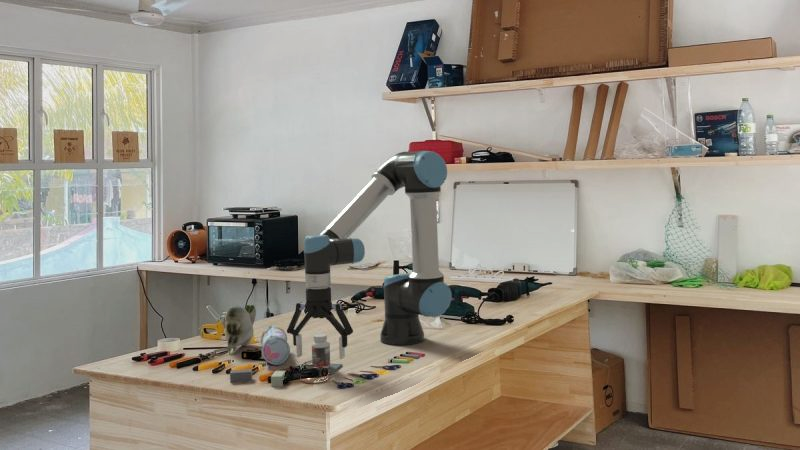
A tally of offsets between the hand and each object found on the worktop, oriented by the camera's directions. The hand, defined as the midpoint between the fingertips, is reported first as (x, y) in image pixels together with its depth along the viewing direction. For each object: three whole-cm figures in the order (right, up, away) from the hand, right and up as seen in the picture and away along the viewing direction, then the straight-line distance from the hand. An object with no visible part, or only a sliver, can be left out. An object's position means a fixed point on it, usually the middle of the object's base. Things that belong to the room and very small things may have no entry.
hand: (320, 357), depth 244 cm
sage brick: (-11, -6, -13) cm, 18 cm away
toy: (-30, -2, +33) cm, 44 cm away
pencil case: (-16, -3, +16) cm, 23 cm away
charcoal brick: (-22, -5, -9) cm, 25 cm away
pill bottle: (0, -3, +1) cm, 3 cm away
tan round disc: (-1, -5, -11) cm, 12 cm away
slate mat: (0, -4, 0) cm, 4 cm away
